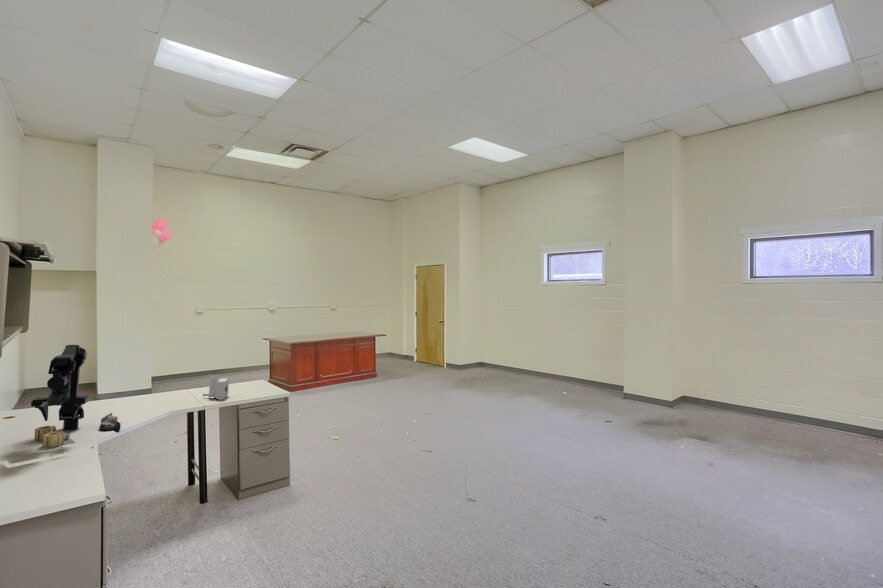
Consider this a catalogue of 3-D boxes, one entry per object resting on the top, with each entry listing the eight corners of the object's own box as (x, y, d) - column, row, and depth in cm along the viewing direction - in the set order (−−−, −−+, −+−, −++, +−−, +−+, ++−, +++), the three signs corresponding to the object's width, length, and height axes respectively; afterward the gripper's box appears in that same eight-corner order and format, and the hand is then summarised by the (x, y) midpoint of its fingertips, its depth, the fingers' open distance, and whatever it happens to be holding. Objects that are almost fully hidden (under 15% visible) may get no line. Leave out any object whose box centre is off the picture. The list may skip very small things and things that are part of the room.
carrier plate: (34, 442, 197) (34, 430, 198) (62, 437, 206) (63, 425, 206) (46, 451, 187) (47, 439, 187) (75, 445, 195) (76, 434, 195)
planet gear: (38, 447, 187) (39, 436, 187) (50, 442, 194) (50, 431, 194) (57, 447, 188) (57, 436, 188) (67, 442, 195) (68, 431, 195)
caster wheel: (110, 439, 213) (91, 435, 213) (129, 428, 224) (110, 424, 224) (111, 427, 211) (91, 422, 212) (129, 416, 222) (111, 412, 223)
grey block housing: (223, 400, 289) (224, 377, 289) (200, 400, 286) (201, 377, 286) (228, 396, 301) (229, 374, 301) (205, 396, 298) (206, 374, 298)
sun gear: (48, 440, 197) (48, 434, 197) (66, 436, 202) (67, 431, 202) (52, 443, 193) (53, 437, 193) (71, 439, 199) (71, 434, 199)
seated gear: (32, 438, 197) (33, 427, 198) (52, 435, 203) (53, 424, 203) (37, 442, 194) (37, 430, 194) (57, 438, 199) (57, 427, 199)
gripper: (26, 390, 183) (24, 427, 183) (81, 388, 191) (79, 423, 191) (37, 384, 193) (35, 419, 193) (89, 382, 201) (88, 416, 201)
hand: (59, 420), depth 194 cm, fingers open, 9 cm apart
